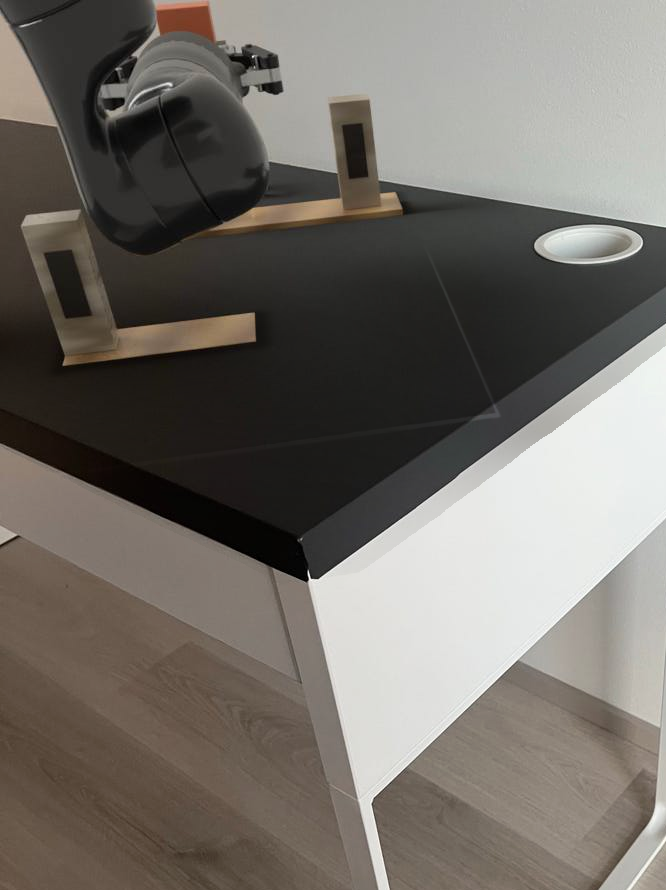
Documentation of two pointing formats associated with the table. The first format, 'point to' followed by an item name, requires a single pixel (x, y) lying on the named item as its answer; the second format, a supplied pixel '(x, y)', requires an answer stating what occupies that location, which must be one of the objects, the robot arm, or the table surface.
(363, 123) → the twin post stand
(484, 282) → the table surface
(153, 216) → the robot arm
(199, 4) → the orange labeled box
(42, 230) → the post on wooden plank
